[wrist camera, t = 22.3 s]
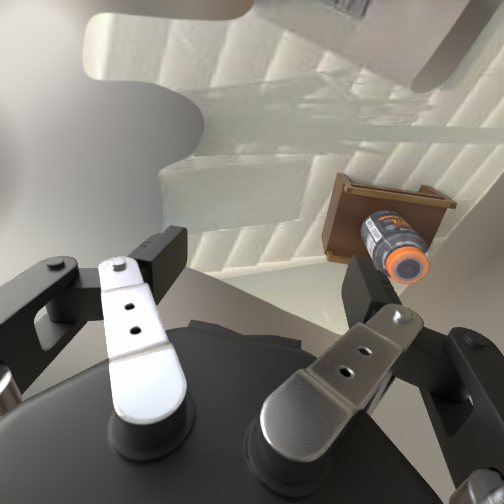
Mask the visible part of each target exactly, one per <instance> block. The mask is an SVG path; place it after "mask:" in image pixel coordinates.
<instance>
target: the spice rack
mask: <svg viewBox="0 0 504 504" xmlns="http://www.w3.org/2000/svg"><path fill="white" fill-rule="evenodd" d="M457 204H458V203H457V202H455V201H453V200H451V198H449V197H448V196H446V195H444V194H442V193H441V192H439V191H437V190H436V189H434V188H432V187H430V186H426V185H421V188H420V191H419V192H413V191H406V190H399V189H392V188H385V187H378V186H371V185H364V184H357V183H351V182H350V181H349V179H348V178H347V176H346V175H345V174H341V173H337V176H336V180H335V184H334V188H333V192H332V196H331V200H330V204H329V209H328V213H327V217H326V221H325V225H324V229H323V233H322V241H323V247H324V252H325V255H326V256H327V261H331V262H337V263H343V264H349V262H350V259H351V257H352V256H353V255H354V256H360V257H366V258H370V259H371V262H372V264H373V266H374V268H375V269H377V268H376V266H375V264H374V262H373V260H372V258H371V256H370V254H369V252H368V250H367V248H366V246H365V244H364V242H363V239H362V237H361V227H362V224H363V223H364V221H365V220H366V218H367V217H369V216H370V215H371V214H373V213H375V212H377V211H382V210H391V211H395V212H397V213H398V214H400V215H401V216H402V217H403V218H404V219H405V220H406V221H407V222H408V223H409V224H410V225H411V226H412V228H413V229H414V230H415V231H416V232H417V233H418V234H419V235H420V236H421V237H422V238H423V239H424V240H425V242H426V243H427V245H428V248H429V247H430V245H431V243H432V241H433V238H434V236H435V234H436V232H437V230H438V227H439V225H440V223H441V221H442V219H443V217H444V214H445V212H446V210H447V208H451V209H455V208H456V206H457Z"/></svg>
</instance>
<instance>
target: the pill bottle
mask: <svg viewBox="0 0 504 504" xmlns="http://www.w3.org/2000/svg"><path fill="white" fill-rule="evenodd" d="M361 237H362V239H363V242H364V244H365V246H366V248H367V250H368V252H369V254H370V256H371V258H372V260H373V262H374V264H375V266H376V268H377V269H378V270H380V271H381V272H382V273H384V274H385V275H386V276H388V277H392V278H393V279H394V280H395V281H397V282H400V283H405V284H409V283H414V282H417V281H419V280H421V279H422V278H423V277H424V276H425V275H426V274H427V272H428V270H429V260H428V257H429V248H428V245H427V243H426V242H425V240H424V239H423V238H422V237H421V236H420V235H419V234H418V233H417V232H416V231H415V230H414V229H413V228H412V226H411V225H410V224H409V223H408V222H407V221H406V220H405V219H404V218H403V217H402V216H401V215H400V214H398V213H397V212H395V211H391V210H382V211H377V212H375V213H373V214H371V215H370V216H369V217H367V218H366V220H365V221H364V223H363V224H362V227H361Z"/></svg>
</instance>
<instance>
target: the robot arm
mask: <svg viewBox="0 0 504 504" xmlns="http://www.w3.org/2000/svg"><path fill="white" fill-rule="evenodd" d="M186 262H187V229H186V228H184V227H178V226H172V225H171V226H169V227H168V228H167V229H166V230H165V231H164V232H163V233H158V234H155V235H153V236H150V237H149V238H148V239H146V240H145V241H144V242H143V243H142V244H141V245H140V246H138V247H137V248H136V249H135V250H133V251H132V252H131V253H130V254H129V255H128V256H126V257H124V256H123V257H122V256H121V257H113V258H109V259H106V260H104V261H103V262H101V263H100V265H99V268H78V263H77V260H76V259H75V258H73V257H68V256H57V257H51V258H47V259H45V260H42V261H40V262H38V263H37V264H35V265H34V266H32V267H30V268H29V269H27V270H26V271H24V272H23V273H21V274H19V275H18V276H16V277H15V278H13V279H12V280H10V281H9V282H7V283H5V284H4V285H2V286H1V287H0V504H443V502H442V501H441V499H440V498H439V497H438V495H437V494H436V493H435V492H434V490H433V489H432V488H431V487H430V486H429V484H428V483H427V482H426V481H425V480H424V479H423V477H422V476H421V475H420V474H419V473H418V472H417V470H416V469H415V468H414V467H413V466H412V465H411V463H410V462H409V461H408V460H407V459H406V458H405V456H404V455H403V454H402V453H401V452H400V451H399V449H398V448H397V447H396V446H395V445H394V444H393V442H392V441H391V440H390V439H389V438H388V437H387V436H386V434H385V433H384V432H383V431H382V430H381V429H380V427H379V426H378V425H377V424H376V423H375V421H374V420H373V419H372V418H371V415H372V413H373V412H374V410H375V409H376V407H377V406H378V404H379V403H380V401H381V400H382V398H383V397H384V395H385V394H386V392H387V391H388V390H389V388H390V387H391V385H392V384H393V382H394V381H395V379H396V377H397V378H399V379H401V380H404V381H406V382H408V383H410V384H413V385H415V386H417V387H419V390H420V393H421V395H422V398H423V400H424V404H425V406H426V409H427V412H428V415H429V417H430V420H431V423H432V425H433V428H434V431H435V434H436V436H437V439H438V442H439V444H440V447H441V450H442V453H443V456H444V458H445V461H446V463H447V467H448V469H449V472H450V475H451V478H452V480H453V483H454V486H455V489H456V491H454V493H453V494H452V495H451V497H450V500H449V504H504V356H503V354H502V353H501V352H500V350H499V349H498V348H497V347H496V345H495V344H494V343H493V342H492V341H490V340H489V339H488V338H486V337H485V336H483V335H481V334H479V333H477V332H475V331H473V330H470V329H467V328H462V327H455V328H452V329H451V331H450V332H449V334H448V336H447V335H444V334H441V333H439V332H436V331H433V330H431V329H428V328H426V327H424V322H423V319H422V318H421V317H420V316H419V315H418V314H417V313H416V312H415V311H413V310H411V309H410V308H407V307H405V306H403V305H402V303H401V301H400V300H399V298H398V296H397V294H396V292H395V291H394V288H393V286H392V285H391V283H390V281H389V279H388V277H387V276H386V275H385V274H384V273H382V272H381V271H380V270H376V269H375V268H374V266H373V264H372V262H371V259H370V258H366V257H360V256H354V255H353V256H352V257H351V259H350V262H349V265H348V269H347V272H346V275H345V278H344V281H343V285H342V300H343V304H344V308H345V313H346V317H347V321H348V326H349V331H347V332H346V333H345V334H344V335H343V336H342V337H341V338H340V339H339V340H338V341H336V342H335V343H334V344H333V345H332V346H331V347H330V348H329V349H328V350H327V351H325V352H324V353H323V354H322V355H321V356H320V357H319V358H316V357H315V356H313V355H312V354H310V353H308V352H306V351H304V350H302V349H301V340H295V339H290V338H285V337H280V336H275V335H242V334H239V333H237V332H235V331H232V330H230V329H227V328H225V327H222V326H220V325H217V324H212V323H207V322H201V321H196V320H191V321H190V323H189V325H188V327H183V328H175V329H170V330H166V331H165V329H164V326H163V323H162V321H161V318H160V315H159V313H158V310H157V307H156V306H157V305H158V304H159V302H160V301H161V299H162V298H163V297H164V295H165V294H166V293H167V291H168V290H169V288H170V287H171V286H172V284H173V283H174V282H175V280H176V279H177V277H178V276H179V275H180V273H181V272H182V271H183V269H184V268H185V266H186ZM44 306H46V309H47V314H45V315H44V316H43V317H42V318H41V319H40V320H39V321H38V322H36V323H35V324H34V318H35V316H36V314H37V312H38V311H39V310H40V309H41V308H43V307H44ZM96 320H104V323H105V331H106V339H107V348H108V356H109V358H108V359H106V360H104V361H102V362H100V363H98V364H96V365H94V366H92V367H90V368H88V369H86V370H84V371H82V372H80V373H78V374H76V375H74V376H72V377H70V378H68V379H66V380H64V381H62V382H60V383H58V384H56V385H54V386H52V387H50V388H48V389H46V390H44V391H42V392H40V393H38V394H36V395H34V396H32V397H30V398H28V399H26V400H25V401H23V402H22V396H21V395H22V394H23V393H24V392H25V391H26V390H27V389H28V388H29V386H30V385H31V384H32V383H33V382H34V381H35V379H37V377H38V376H39V375H40V374H41V373H42V372H43V371H44V370H45V368H47V366H48V365H49V364H50V363H51V362H52V361H53V360H54V359H55V357H56V356H57V355H58V354H59V353H60V352H61V351H62V350H63V349H64V347H65V346H66V345H67V344H68V343H69V342H70V341H71V340H72V339H73V337H74V336H75V335H76V334H77V333H78V332H79V331H80V330H81V328H82V327H83V326H84V325H85V324H86V323H87V321H96ZM470 395H471V398H472V401H473V405H472V403H471V402H470V400H469V398H468V397H469V396H470Z"/></svg>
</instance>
